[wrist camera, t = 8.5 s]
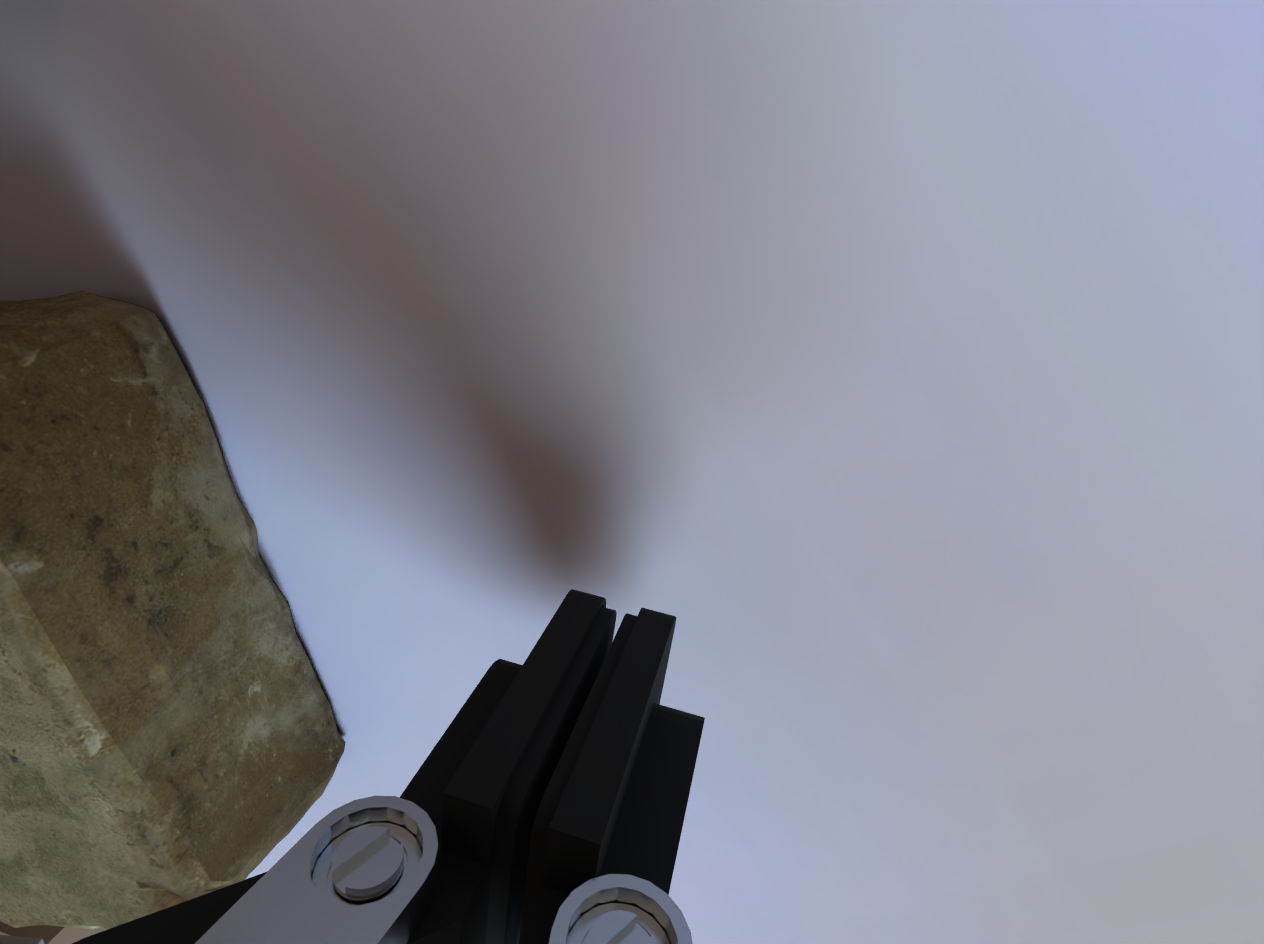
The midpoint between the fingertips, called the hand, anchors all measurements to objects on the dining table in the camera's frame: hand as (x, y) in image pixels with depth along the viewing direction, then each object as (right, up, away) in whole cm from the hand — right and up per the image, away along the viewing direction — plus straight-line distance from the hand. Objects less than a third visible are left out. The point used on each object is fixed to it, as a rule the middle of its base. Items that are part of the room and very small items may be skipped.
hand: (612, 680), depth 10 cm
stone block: (-10, +1, +5) cm, 11 cm away
